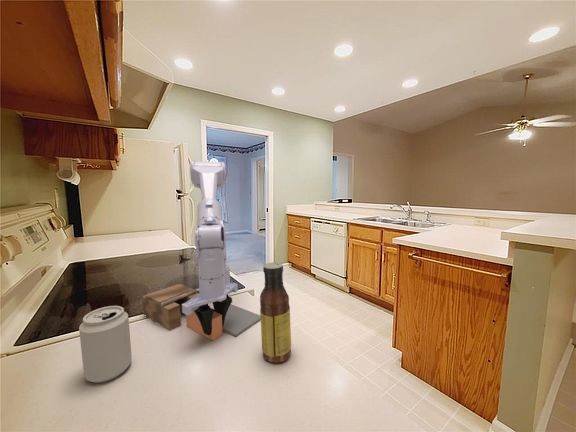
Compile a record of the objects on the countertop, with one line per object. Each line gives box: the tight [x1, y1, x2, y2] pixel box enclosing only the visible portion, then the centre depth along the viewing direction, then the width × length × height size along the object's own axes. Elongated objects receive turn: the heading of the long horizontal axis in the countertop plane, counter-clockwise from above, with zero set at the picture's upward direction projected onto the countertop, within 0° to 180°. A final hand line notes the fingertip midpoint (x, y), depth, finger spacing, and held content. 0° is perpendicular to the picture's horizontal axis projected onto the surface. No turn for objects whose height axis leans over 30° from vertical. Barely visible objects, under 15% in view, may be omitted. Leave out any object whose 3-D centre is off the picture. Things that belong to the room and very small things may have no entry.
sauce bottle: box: [259, 261, 292, 364], centre depth 51 cm, size 7×6×20 cm
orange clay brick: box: [185, 311, 223, 341], centre depth 61 cm, size 10×3×5 cm, turn 56°
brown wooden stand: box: [142, 283, 199, 331], centre depth 68 cm, size 13×10×6 cm
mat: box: [222, 303, 261, 338], centre depth 66 cm, size 10×13×1 cm
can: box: [78, 305, 133, 384], centre depth 47 cm, size 8×8×12 cm
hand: (213, 329), depth 59 cm, fingers closed on orange clay brick, 3 cm apart
